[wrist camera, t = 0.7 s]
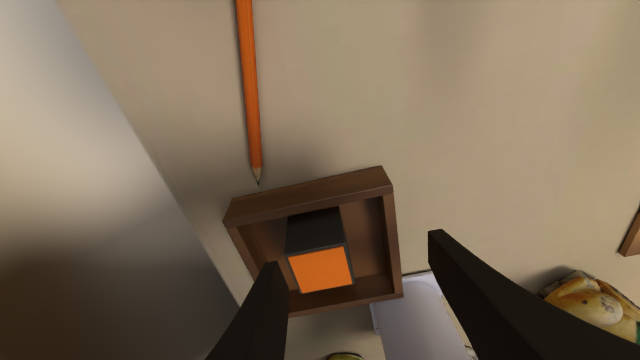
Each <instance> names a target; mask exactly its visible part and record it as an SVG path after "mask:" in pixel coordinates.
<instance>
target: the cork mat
mask: <svg viewBox="0 0 640 360" xmlns="http://www.w3.org/2000/svg"><path fill="white" fill-rule="evenodd" d="M619 254H621V255H622V256H624V257H627V256H633V255H638V254H640V211H639V213H638V215H637V217H636V219H635V221H634V223H633V225H632V227H631V229H630V231H629V233H628V235H627V237H626V239H625V241H624V243H623V245H622V247H621V249H620V251H619Z"/></svg>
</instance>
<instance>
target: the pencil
mask: <svg viewBox="0 0 640 360" xmlns="http://www.w3.org/2000/svg"><path fill="white" fill-rule="evenodd" d="M236 9H237V20H238V31H239V42H240V53H241V63H242V74H243V85H244V96H245V107H246V118H247V129H248V139H249V150H250V161H251V167H252V170H253V173H254V176H255V179H256V181H257V184H258V187H259V181H260V176H261V171H262V166H263V163H262V148H261V133H260V118H259V103H258V88H257V73H256V58H255V43H254V28H253V13H252V0H236Z"/></svg>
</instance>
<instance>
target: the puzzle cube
mask: <svg viewBox="0 0 640 360" xmlns="http://www.w3.org/2000/svg"><path fill="white" fill-rule="evenodd" d="M284 256H285V259H286V261H287V264H288V266H289V268H290V271H291V273H292V276H293V278H294V280H295V283H296V285H297V288H298V290H299V292H300V294H304V293H309V292H315V291H320V290H325V289H330V288H336V287H341V286H346V285H352V284H355V277H354V272H353V267H352V262H351V257H350V252H349V247H348V242H347V238H346V233H345V229H344V225H343V221H342V216H341V212H340V208H339V206H337V207H333V208H328V209H323V210H318V211H314V212H309V213H304V214H299V215H295V216H290V217H288V220H287V230H286V240H285V250H284Z"/></svg>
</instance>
